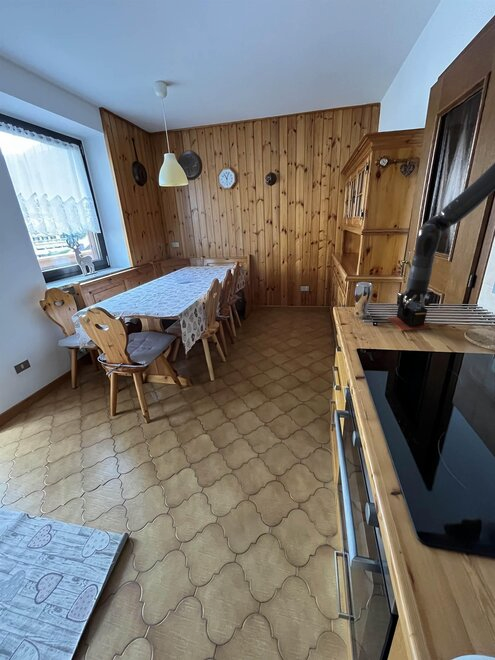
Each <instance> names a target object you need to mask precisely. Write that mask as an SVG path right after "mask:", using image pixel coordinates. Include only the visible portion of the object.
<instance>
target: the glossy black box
mask: <svg viewBox="0 0 495 660" xmlns="http://www.w3.org/2000/svg"><path fill="white" fill-rule="evenodd" d="M406 309H407V311H406V316H405V317H403V316H401V314H400V312H401V308H400V307H399V306H397V312H396V317H398V318H399V319H400V320H402V321H403V322H404V323H405V324H407V325H408V326H409V327H411V326H422V325H424V323H425V322H426V317H427V313H428V309H426V307H422V306H421V305H419V304H418V302H417V301H414V302H412V303H411V304H409V305H408V307H407V308H406Z"/></svg>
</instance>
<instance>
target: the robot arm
mask: <svg viewBox="0 0 495 660" xmlns="http://www.w3.org/2000/svg"><path fill="white" fill-rule="evenodd" d="M494 191H495V162H493V164H491V166H489V167H488V168H487V169H486V170H485V171H484V172H483V173H482V174H481V175H479V177H478V178H477V179H476V180H475V181H473V182H472V183H471V184H470V185H469V186H467V188H466V189H464V190H463V191H462V192H461V193H459V194H458V196H456V197H455V198H454V199H453V200H451V201H450V202H449V203H448V204H447V205H445V206H444V208H442V210H440V211H439V212H437V213H436V214H435V215H434V216H432V217H431V218H430V219H428V220H427V221H426V222H424V223H423V224H422V225H421V226H420V228H419V229H418V232H417V238H416V244H415V245H416V246H415V251H414V253H413V256H412V261H411V266H410V268H409V272H408V277H407V281H406V290H405V291H404V292H397V297H396V306H397V307H398V306H399V307H400V308H401V312H400V314H401V316H403V317H405V316H406V311H407V309H406V308H407V307H408V305H409V304H411V303H412V302H417V304H419V305H421V306H422V307H424V308H426V306H427V307H428V306H430V305H431V301H432V299H433V297H434V294H435V292H434V291H432V290H430V289H429V285H430V281H431V277H432V273H433V266H434V261H435V257H436V251H437V249H438V246H439V243H440V239H441V236H442V234H443V233H444V232H445V231H447V230H448V229H449V228H451V226H454V225H457V224H458V223H459V222H461V221H462V220H463V219H465V218H466V217H467V216H468V215H470V214H471V213H472V212H473V211H474V210H476V209H477V208H478V207H479V206H480V205H482V204H483V202H484V201H485V200H486V199H488V197H489V196H490V195H491V194H492V193H494Z"/></svg>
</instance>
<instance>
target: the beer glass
mask: <svg viewBox="0 0 495 660" xmlns="http://www.w3.org/2000/svg"><path fill="white" fill-rule="evenodd" d="M372 292H373V283H371V282H369V281H359V282H356V284H355V288H354V310H353V316H354V317H355V318H358V319H364V318H367V317H368V307H369V304H370V301H371V298H372Z"/></svg>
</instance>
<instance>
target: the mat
mask: <svg viewBox="0 0 495 660" xmlns="http://www.w3.org/2000/svg"><path fill="white" fill-rule="evenodd" d="M387 320H388V321H390V322H391V323H392V324H393V325H394V326H396V327H397V329H399V330H400V331H402V332H410V331H420V330H431V329H432V327H431V326H430V325H428V324H427V323H425V322H424V325H422V326H411V327H409V326H408V325H407V324H405V323H404V322H403V321H402V320H400V319H399V318H398V317H387Z"/></svg>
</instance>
